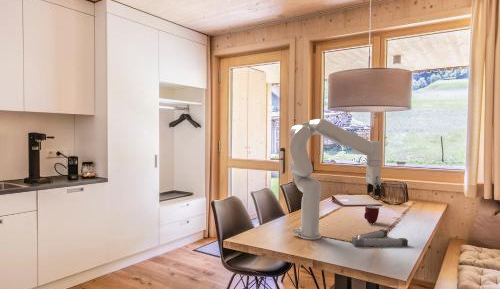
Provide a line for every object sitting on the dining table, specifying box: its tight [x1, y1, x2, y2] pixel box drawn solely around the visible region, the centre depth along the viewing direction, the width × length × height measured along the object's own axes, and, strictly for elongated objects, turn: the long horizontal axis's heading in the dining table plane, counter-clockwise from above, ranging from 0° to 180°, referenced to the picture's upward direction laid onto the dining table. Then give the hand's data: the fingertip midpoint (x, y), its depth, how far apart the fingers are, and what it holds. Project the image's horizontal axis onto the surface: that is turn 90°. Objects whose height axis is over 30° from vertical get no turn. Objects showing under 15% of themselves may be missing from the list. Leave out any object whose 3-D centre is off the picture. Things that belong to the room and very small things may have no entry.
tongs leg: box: [355, 228, 388, 238], centre depth 183 cm, size 22×3×3 cm, turn 123°
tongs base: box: [351, 236, 409, 248], centre depth 174 cm, size 27×5×4 cm, turn 93°
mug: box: [363, 204, 380, 224], centre depth 214 cm, size 11×8×10 cm
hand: (373, 193), depth 192 cm, fingers open, 9 cm apart
